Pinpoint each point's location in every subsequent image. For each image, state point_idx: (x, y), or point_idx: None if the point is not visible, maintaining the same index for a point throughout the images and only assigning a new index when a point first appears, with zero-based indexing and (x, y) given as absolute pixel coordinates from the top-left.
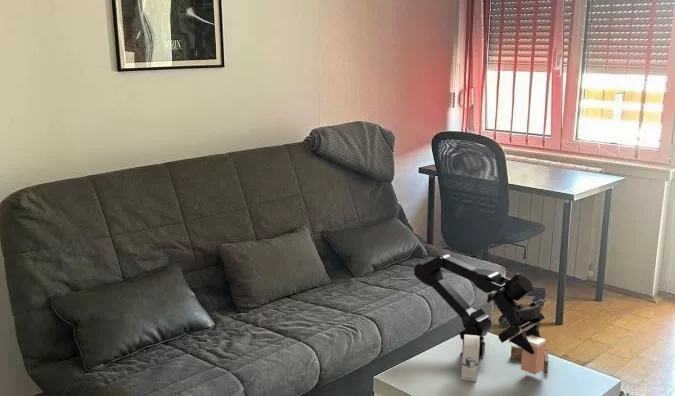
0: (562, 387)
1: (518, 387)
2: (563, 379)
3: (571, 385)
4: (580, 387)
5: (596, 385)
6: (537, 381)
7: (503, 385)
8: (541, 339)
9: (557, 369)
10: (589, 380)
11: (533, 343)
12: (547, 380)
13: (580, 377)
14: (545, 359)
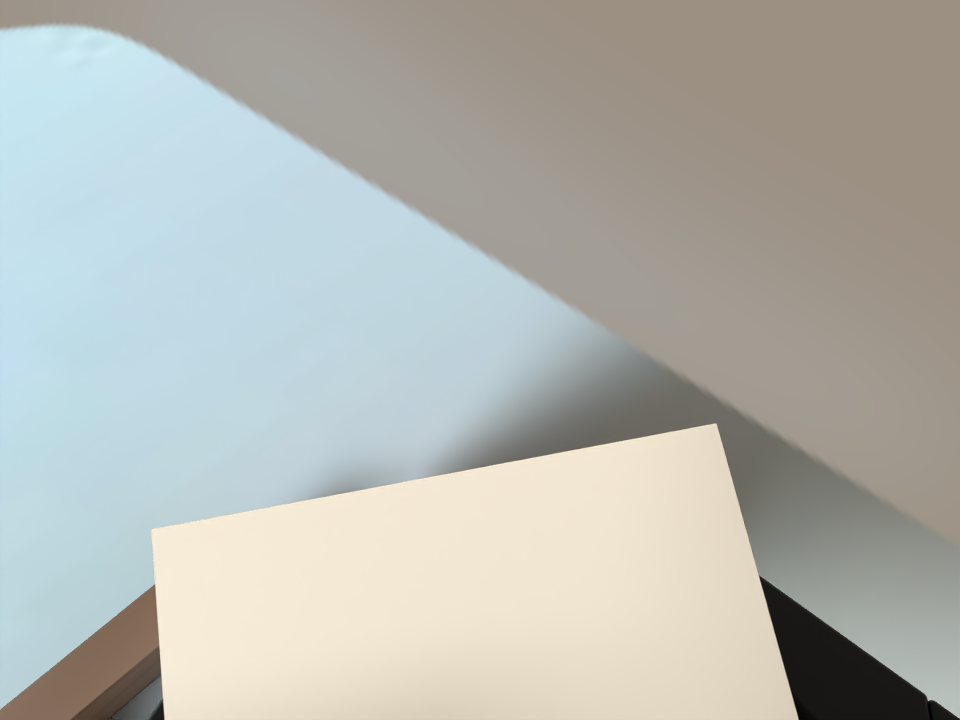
0: (381, 259)
1: (787, 514)
2: (218, 360)
3: (267, 235)
4: (230, 164)
5: (63, 105)
6: None
7: (911, 644)
8: (265, 639)
9: (45, 560)
10: (16, 198)
11: (758, 578)
12: (385, 442)
13: (25, 287)
14: (146, 647)
